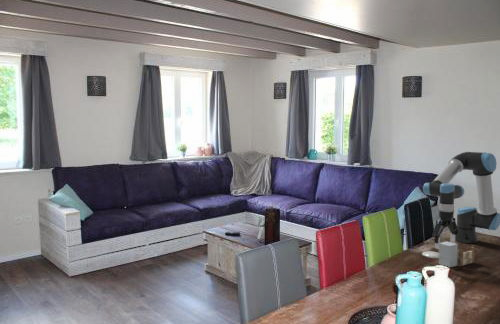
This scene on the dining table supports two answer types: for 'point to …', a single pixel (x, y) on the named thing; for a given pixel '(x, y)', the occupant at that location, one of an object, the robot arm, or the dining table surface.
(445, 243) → the supplement box
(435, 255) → the disc
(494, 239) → the dining table surface
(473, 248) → the shelf bay
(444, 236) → the dining table surface
